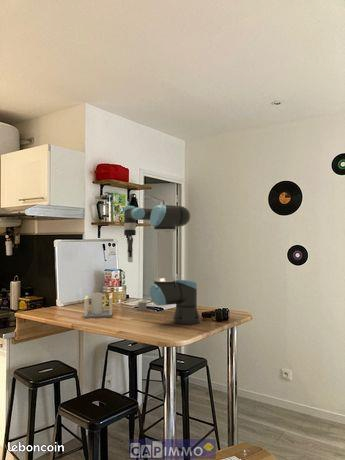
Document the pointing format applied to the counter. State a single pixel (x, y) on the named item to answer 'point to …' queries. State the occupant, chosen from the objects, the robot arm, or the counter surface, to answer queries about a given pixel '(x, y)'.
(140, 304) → the junction box
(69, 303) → the counter surface
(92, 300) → the mug
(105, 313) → the grey u-shaped piece
